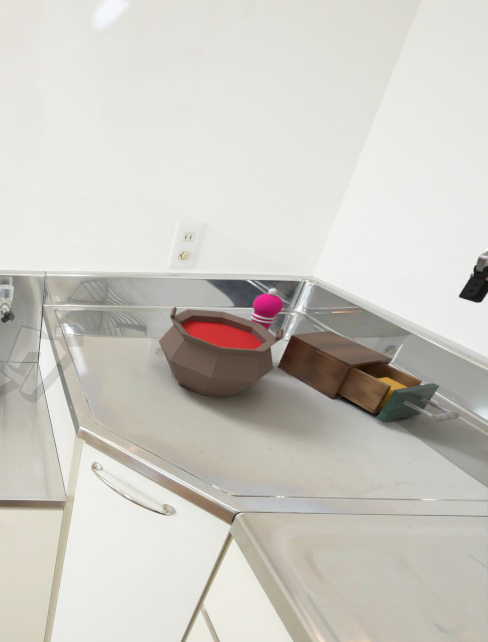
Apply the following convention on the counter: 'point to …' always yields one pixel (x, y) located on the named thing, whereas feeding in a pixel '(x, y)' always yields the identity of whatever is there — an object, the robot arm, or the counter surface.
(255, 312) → the pepper mill
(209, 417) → the counter surface
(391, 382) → the block
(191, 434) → the counter surface
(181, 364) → the brown cooking pot
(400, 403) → the drawer
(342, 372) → the cabinet
